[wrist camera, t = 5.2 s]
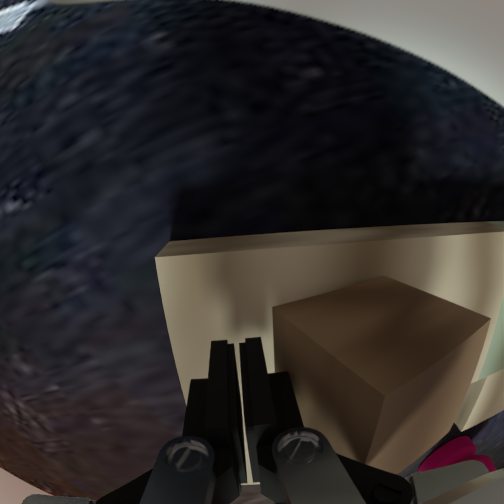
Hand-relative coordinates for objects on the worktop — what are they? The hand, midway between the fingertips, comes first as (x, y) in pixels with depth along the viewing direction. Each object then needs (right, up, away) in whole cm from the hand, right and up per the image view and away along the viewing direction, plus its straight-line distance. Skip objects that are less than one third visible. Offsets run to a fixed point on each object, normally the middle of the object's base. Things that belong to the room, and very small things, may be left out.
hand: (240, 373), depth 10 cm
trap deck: (+9, -2, +5) cm, 11 cm away
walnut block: (+4, 0, +1) cm, 4 cm away
